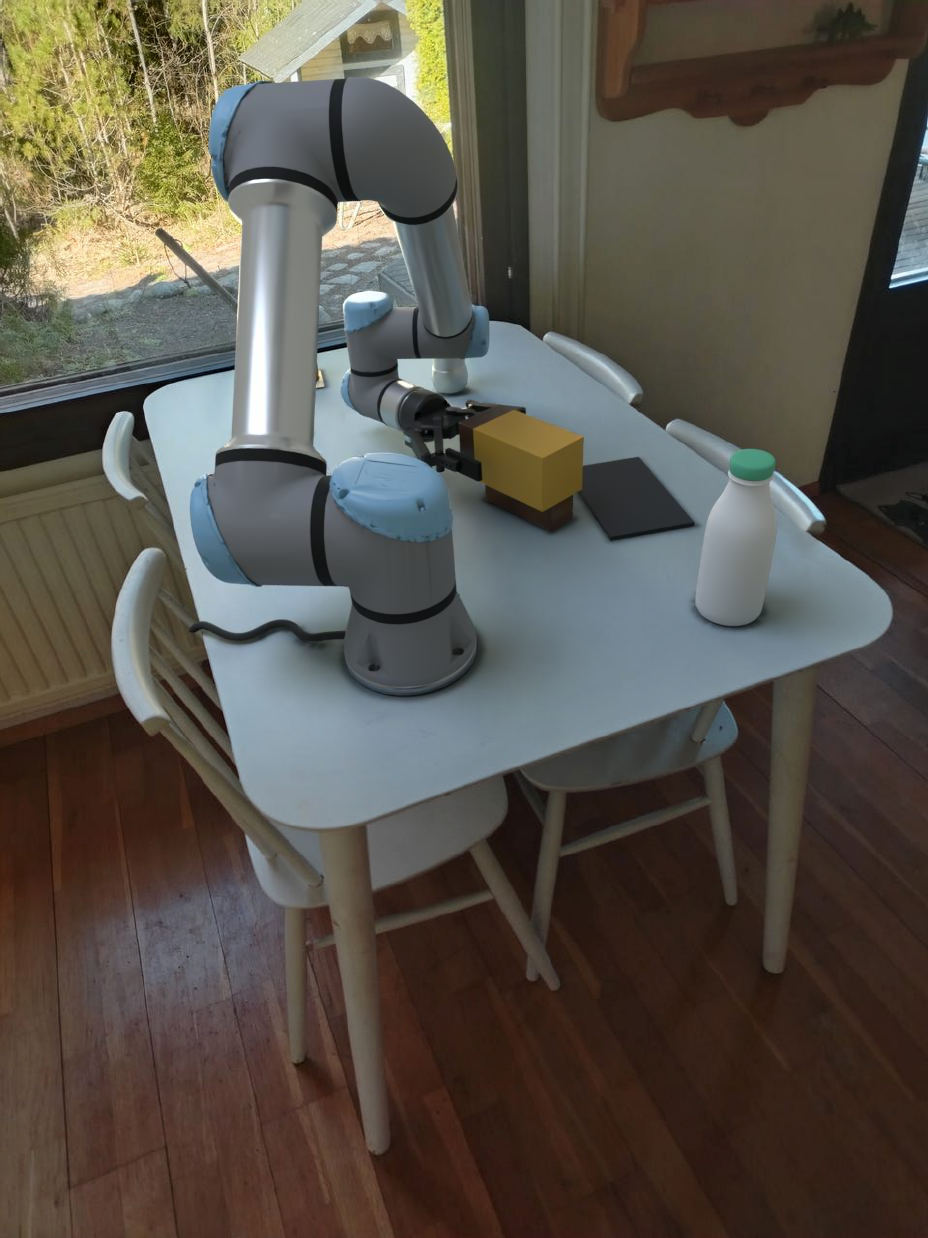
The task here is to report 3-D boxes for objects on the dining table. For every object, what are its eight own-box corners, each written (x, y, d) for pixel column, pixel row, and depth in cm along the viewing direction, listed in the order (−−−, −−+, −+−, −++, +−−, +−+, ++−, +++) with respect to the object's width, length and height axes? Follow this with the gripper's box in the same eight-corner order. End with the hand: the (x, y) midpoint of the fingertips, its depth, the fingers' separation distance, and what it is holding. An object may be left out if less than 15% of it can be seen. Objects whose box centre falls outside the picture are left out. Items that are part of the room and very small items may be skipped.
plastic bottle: (428, 386, 158) (419, 275, 146) (463, 380, 160) (456, 270, 147) (437, 400, 153) (428, 286, 141) (473, 393, 155) (467, 280, 142)
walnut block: (485, 500, 125) (484, 475, 122) (507, 488, 127) (506, 464, 125) (551, 532, 117) (551, 507, 115) (573, 519, 119) (573, 494, 117)
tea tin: (582, 489, 118) (583, 436, 113) (542, 512, 114) (542, 458, 109) (500, 453, 127) (499, 403, 122) (461, 473, 123) (458, 422, 118)
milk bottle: (763, 630, 98) (795, 476, 86) (694, 625, 100) (716, 473, 87) (759, 591, 104) (788, 441, 92) (694, 586, 105) (714, 439, 93)
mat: (610, 540, 115) (610, 536, 114) (564, 472, 130) (564, 468, 130) (694, 525, 116) (694, 522, 116) (638, 459, 132) (638, 456, 131)
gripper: (476, 408, 140) (573, 447, 127) (355, 463, 127) (450, 512, 115) (473, 364, 135) (575, 399, 123) (348, 416, 123) (446, 462, 110)
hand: (515, 454), depth 119 cm, fingers open, 13 cm apart
